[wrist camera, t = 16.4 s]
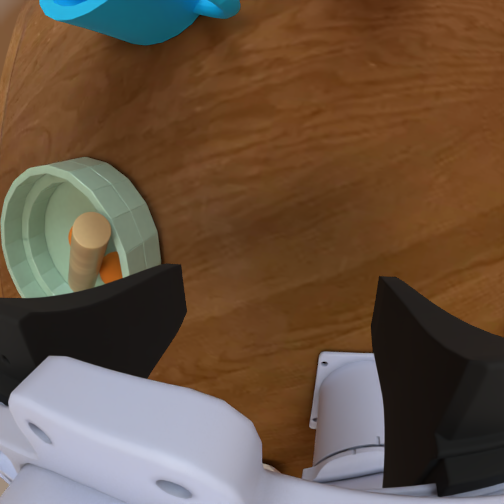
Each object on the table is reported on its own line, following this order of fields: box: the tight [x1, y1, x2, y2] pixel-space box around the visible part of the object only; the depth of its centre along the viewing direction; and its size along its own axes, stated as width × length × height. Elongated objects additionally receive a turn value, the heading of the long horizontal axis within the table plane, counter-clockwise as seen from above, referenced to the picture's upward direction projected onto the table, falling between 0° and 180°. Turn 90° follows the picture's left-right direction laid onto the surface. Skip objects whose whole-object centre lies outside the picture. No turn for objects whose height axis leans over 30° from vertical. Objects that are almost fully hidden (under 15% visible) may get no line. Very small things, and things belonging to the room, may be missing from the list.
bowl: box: [1, 157, 161, 298], centre depth 23 cm, size 14×14×5 cm
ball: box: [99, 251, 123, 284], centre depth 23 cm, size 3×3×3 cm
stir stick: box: [68, 212, 111, 292], centre depth 20 cm, size 2×2×9 cm
